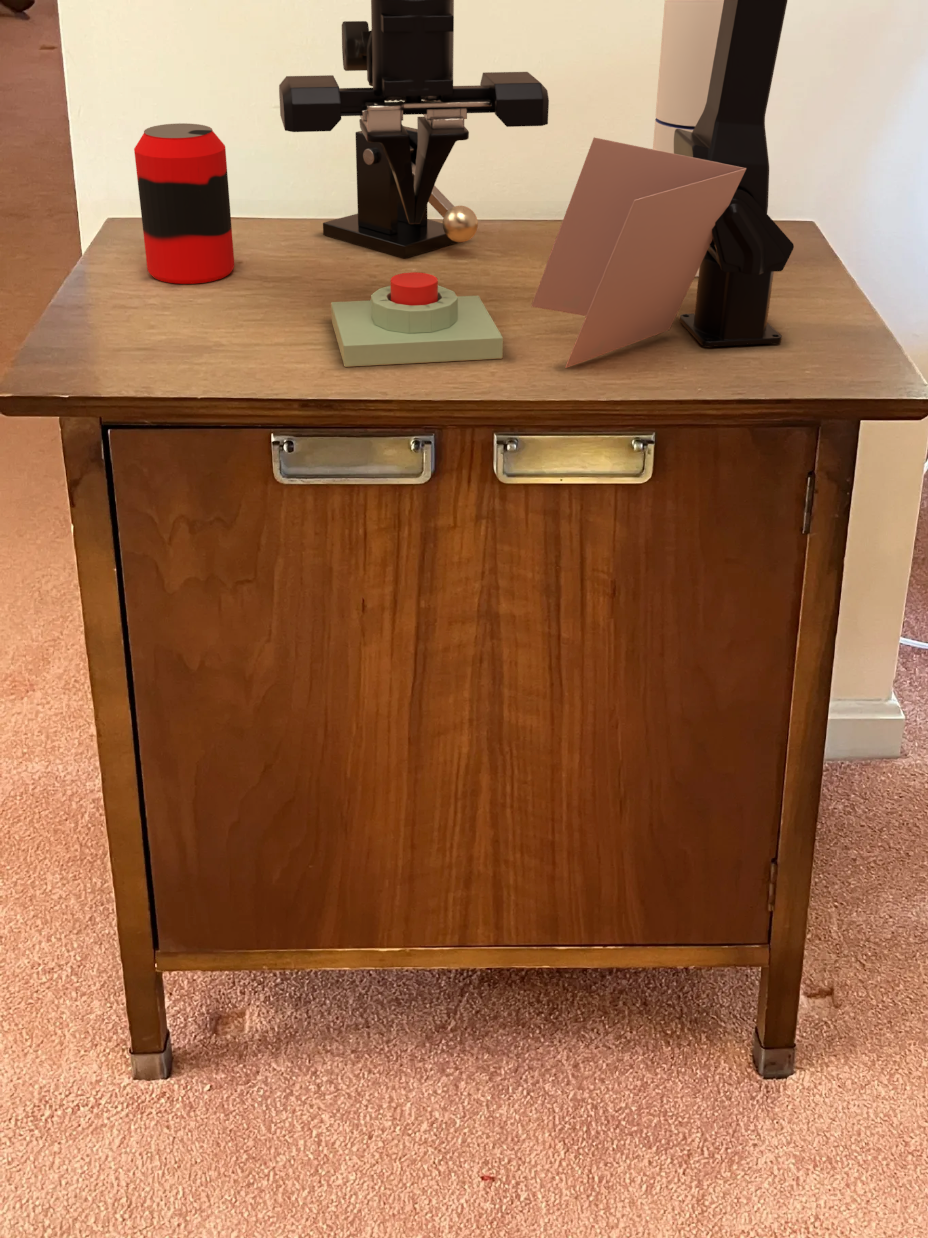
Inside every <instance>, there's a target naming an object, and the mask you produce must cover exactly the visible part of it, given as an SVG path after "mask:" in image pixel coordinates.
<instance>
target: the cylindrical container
mask: <svg viewBox="0 0 928 1238" xmlns="http://www.w3.org/2000/svg"><path fill="white" fill-rule="evenodd" d="M723 3H724V0H664V7H663V17H662V30H661V40H660V41H661V43H660V56H659V66H658V67H659V68H658V82H657V92H656V93H657V94H656V107H655V120H654V130H653V142H652V149H654V150H659V151H664V152H668V153H673V154H674V133H675V130H676V129H681V130H685V131H689V132H693V130H694V128H695V126H696V124H697V122H698V120H699V119H700V117H701V115H702V113H703V111H704V108H705V105H706V102H707V96H708V90H709V84H710V79H711V73H712V67H713V61H714V56H715V50H716V44H717V38H718V32H719V27H720V21H721V15H722V9H723ZM698 276H699V269H698V271H697V273H696V275H695V277H696V278H697V277H698ZM695 277H694V278H695Z"/></svg>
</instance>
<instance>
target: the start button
mask: <svg viewBox="0 0 928 1238" xmlns="http://www.w3.org/2000/svg"><path fill="white" fill-rule="evenodd" d="M438 285H439V280H438V278H437V276H435V275H433V274H430V273H426V272H418V271H417V272H414V271H413V272H412V271H411V272H403V273H398V274H395V275H393V276H392V277H391V278H390V286H391V301H392V302H394V303H396V304H403V305H410V306H415V305H428V304H431V303H435V302H438Z"/></svg>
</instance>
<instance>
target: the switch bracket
mask: <svg viewBox="0 0 928 1238" xmlns="http://www.w3.org/2000/svg"><path fill="white" fill-rule="evenodd" d="M403 127H404V128H405V130H406V131H407V133H408V134H409V142H410V146H411V147H412V148H413V152H412V154H411V161H412V162H413V163H414V164H415V165H416V157H417V149H418V148H417V146H418V128H414V127H409V126H405V125H403ZM354 133H355V134H354V135H355V162H356V164H355V165H356V166H355V167H356V168H355V169H356V197H357V198H356V201H357V204H356V205H357V213H355V214H350V215H346V216H344V217H339V218H335V219H331V220H328V221H324V222H322V234H323V236H325V237H329V238H333V239H336V240H340V241H343V242H347V243H350V244H354V245H357V246H361V247H363V248H367V249H370V250H374V251H377V252H381V253H384V254H388V255H390V256H393V257H398V258H400V259H401V258H402V259H405V260H406V259H408V258H412V257H414V256H415V257H416V256H418V255H422V254H425V253H429V252H433V251H434V250H438V249H442V248H445V247H448V246H451V245H454V244H459V242H455V241H453V240H451V239H450V238H448V237H447V235H446V234H445V232H444V230H443V222H439V221H435V220H432V219H428V205H427V206H426V209H425V212H424V214H423V217H422V220H421V222H420V224H415V223H414V224H409V222H408V219H407V216H406V213H405V210H404V207H403V204H402V200H401V197H400V194H399V191H398V188H397V185H396V181H395V178H394V175H393V172H392V169H391V166H390V164H389V161H388V159H387V157H386V154H385V152H384V150H383V148H382V146H381V144H380V143H373V142H368V141H367V140H366V138H365V136H364V134H363V132H362V130H358V131H356V132H354Z"/></svg>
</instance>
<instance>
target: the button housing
mask: <svg viewBox="0 0 928 1238" xmlns="http://www.w3.org/2000/svg"><path fill="white" fill-rule="evenodd" d="M330 310H331V311H330V312H331V313H330V314H331V324H332V328H333V331H334V336H335V338H336V342H337V345H338V349H339V353H340V355H341V359H342V363H343V366H344V367H345V368H351V367H352V368H353V367H368V366H370V367H371V366H386V365H389V366H391V365H409V364H425V363H427V364H428V363H442V362H443V363H445V362H462V361H465V362H466V361H483V360H499V359H501V360H502V359H503V358H504V357H503V356H504V337H503V334H502V333H501V332H500V330H499V328H498V327H497V325H496V323H495V321H494V320H493V317H492V316H491V314H490V313H489V311H488V309H487V307H486V306H485V304H484V302H483V300H482V299H481V297H480V295H458V296H457V293H455V291H454V290H452V289H449V288H447V287H444V286H441V285H439V284H438V302H435V303H431V304H428V305H415V306H410V305H403V304H396V303H394V302H392V301H391V285H388V286H384V287H379V288H378V289H377V290H375V291H374V292H373V293H372V294H371V295H370V300H349V301H346V300H345V301H331V302H330Z"/></svg>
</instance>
